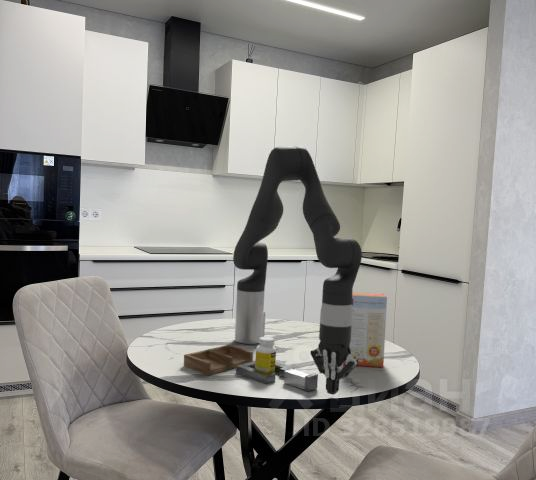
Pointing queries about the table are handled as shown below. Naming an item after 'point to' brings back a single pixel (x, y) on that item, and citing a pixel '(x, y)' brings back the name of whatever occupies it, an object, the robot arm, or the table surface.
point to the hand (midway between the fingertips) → (331, 393)
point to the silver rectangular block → (301, 379)
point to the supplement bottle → (265, 355)
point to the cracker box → (368, 328)
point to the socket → (260, 376)
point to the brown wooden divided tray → (217, 359)
